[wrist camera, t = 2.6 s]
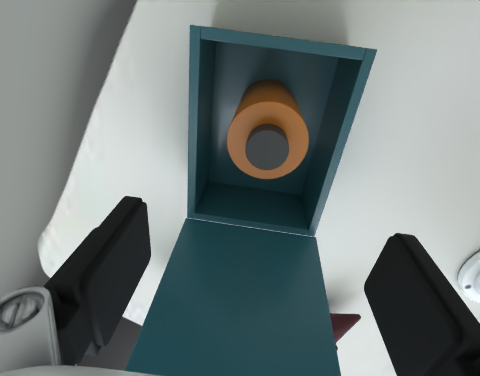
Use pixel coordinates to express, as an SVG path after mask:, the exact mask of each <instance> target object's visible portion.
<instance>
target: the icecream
mask: <svg viewBox="0 0 480 376" xmlns="http://www.w3.org/2000/svg"><path fill="white" fill-rule="evenodd" d="M330 318H331V323H332V329H333V334H334V340H335V345H336V342H337V341H338V340H339V339H340V338H341V337H342V336H343V335H344V334H345V333H346V332H347V331H348V330H349V329H350V328H351V327H352V326H354V325H355V324H356V323H357V322H358V321H359V320H360V318H361V316H360V315H359V314H333V313H330ZM337 350H338V348H337V346H336V351H337Z"/></svg>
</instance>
